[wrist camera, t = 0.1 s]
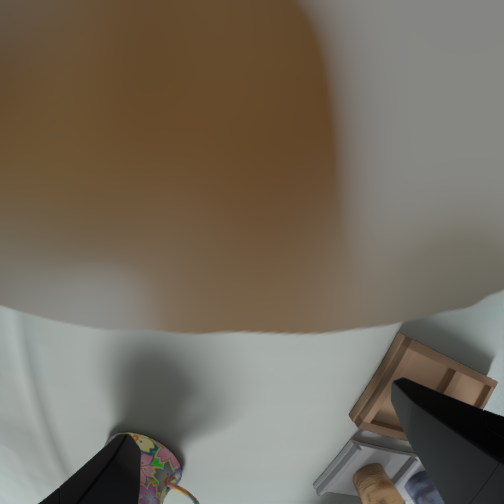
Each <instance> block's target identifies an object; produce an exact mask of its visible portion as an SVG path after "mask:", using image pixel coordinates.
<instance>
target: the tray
mask: <svg viewBox="0 0 504 504" xmlns="http://www.w3.org/2000/svg"><path fill="white" fill-rule="evenodd" d="M401 377H405V378H408V379H410V380H412V381H414V382H417V383H419V384H421V385H424V386H426V387H429V388H431V389H433V390H436V391H438V392H441V393H443V394H445V395H448V396H450V397H453V398H455V399H458V400H460V401H463V402H465V403H468V404H470V405H473V406H476V407H478V408H481V409H483V408H484V407H485V405H486V403H487V402H488V400H489V398H490V396H491V394H492V393H493V391H494V389H495V387H496V385H497V383H498V382H497V381H495V380H493V379H491V378H489V377H487V376H485V375H483V374H481V373H479V372H477V371H475V370H473V369H471V368H469V367H467V366H465V365H463V364H461V363H459V362H457V361H455V360H453V359H451V358H449V357H447V356H445V355H443V354H441V353H439V352H437V351H435V350H433V349H431V348H429V347H427V346H425V345H423V344H421V343H419V342H417V341H415V340H413V339H411V338H409V337H407V336H405V335H403V334H401V333H399V332H398V333H397V335H396V337H395V339H394V341H393V343H392V345H391V347H390V348H389V350H388V352H387V354H386V356H385V357H384V359H383V361H382V363H381V364H380V366H379V368H378V370H377V371H376V373H375V375H374V376H373V378H372V380H371V381H370V383H369V385H368V386H367V388H366V389H365V391H364V393H363V394H362V396H361V397H360V399H359V400H358V402H357V403H356V405H355V406H354V408H353V409H352V411H351V412H350V414H349V417H350V418H351V420H352V421H353V422H354V423H355V424H356V426H357V427H358V428H359V429H363V430H366V431H370V432H374V433H377V434H381V435H385V436H389V437H393V438H397V439H401V440H406V441H408V439H407V437H406V435H405V433H404V431H403V428H402V426H401V424H400V421H399V419H398V417H397V414H396V412H395V410H394V408H393V405H392V403H391V385H392V382H393V381H394V380H396V379H398V378H401Z"/></svg>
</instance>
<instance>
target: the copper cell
mask: <svg viewBox="0 0 504 504" xmlns="http://www.w3.org/2000/svg"><path fill="white" fill-rule="evenodd" d="M352 482H353V484H354V486H355V489H356V491H357V493H358V495H359V498H360V500H361V502H362V504H405V501H404V500H403V498H402V496H401V495H400V493H399V492H398V490H397V488H396V487H395V485H394V484H393V482H392V480H391V479H390V477H389V476H388V474H387V472H386V471H385V469H384V468H383V466H382V465H381V464H379V463H371V464H368V465H365V466H363V467H361V468H360V469H359V470H357V471H356V472H355V474H354V475H353V477H352Z"/></svg>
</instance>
